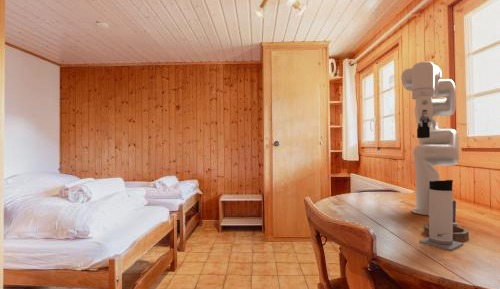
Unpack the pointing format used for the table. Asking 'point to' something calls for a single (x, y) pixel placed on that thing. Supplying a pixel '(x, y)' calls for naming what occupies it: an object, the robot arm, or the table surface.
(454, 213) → the flask
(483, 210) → the table surface
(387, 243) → the table surface
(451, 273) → the table surface
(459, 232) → the collar
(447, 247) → the mat
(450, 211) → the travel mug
